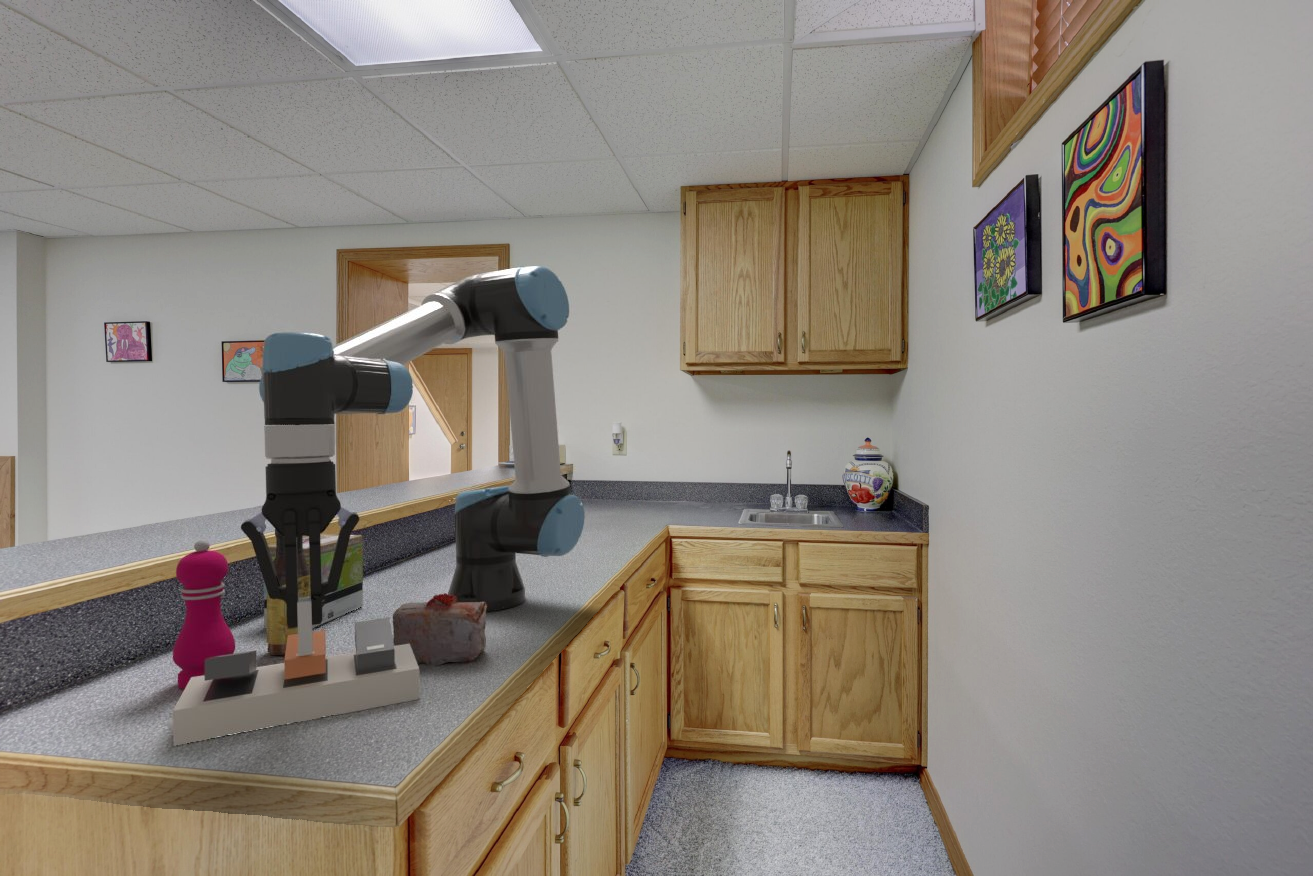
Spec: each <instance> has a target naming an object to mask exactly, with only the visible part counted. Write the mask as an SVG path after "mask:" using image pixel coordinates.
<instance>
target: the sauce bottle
mask: <svg viewBox="0 0 1313 876" xmlns="http://www.w3.org/2000/svg"><path fill="white" fill-rule="evenodd" d="M274 535H275V539H276V542H275V543H276V558H275V559H274V561H273V563H274V566H275V569H276V573H277V576H278V579H279V582H280V585H281V587H286V571H285V537H284V536H282V535H281V534H280V533H279V532H278V531H277V530H276V529H275V528H274ZM303 538H304V536H299V537H297V555H298V598H299V597H307V596H311V590H310V570H309V568H308V565H307V562H306V559H305V557H304V554H303ZM293 634H298V627H295V628H289V627H288V625H287V605H286V602H285V601H283V600H280V599H271V598H270V597H269V595H268V592H267V627H266V643H267V652H268V654H270V655H272V656H285V652H286V645H287V638H288V635H293Z"/></svg>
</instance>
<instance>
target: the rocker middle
mask: <svg viewBox="0 0 1313 876" xmlns="http://www.w3.org/2000/svg"><path fill="white" fill-rule="evenodd" d="M326 644H327V643H326V630H325V629H323V630H318V631H313V654H310V655H303V656H299V654H298V634H293V635H288V638H287V645H286V652H285V655H284V660H283V661H284V662H283V663H284V666H285V679H291V678H297V677H303V676H309V675H315V674H321V673H326V656H327V655H326V654H327V652H326Z"/></svg>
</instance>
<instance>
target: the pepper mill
mask: <svg viewBox="0 0 1313 876" xmlns="http://www.w3.org/2000/svg"><path fill="white" fill-rule="evenodd" d="M210 546H211V545H210V542H209V541H208V540H206V539H199V540H197V541H196V542H195V543H194V546H193V548H194V550H195V551H194V552H190V553H188V554H185V556H183V557H182V558H181V559H179V561H178V563H177V565H176V570H175V575H176V576H175V577H176V578H177V580H178V582H180V583H181V584H182V586H183V587H182V588H181V589H180V592H181V596H180V598H181V599H182V600H184V604H185V617H184V622H183V625H182V627H181V630H180V632H179V634H178V636H177V639H176V641H175V644H174V646H173V650H172V661H173V663H174V664H175V666H177V667H179V669H180V670H179V672H178V673H177V687H178V688H179V689H180V690H183V691H184V690H185V688H186V686H187V684H188V682H189V681H190V679H191V677H197V676H203V675H205V659H207V658H211V657H215V656H221V655H227V654H234V653H235V650H236V641H235V637H234V634H233V633H232V631H231V629H230V627H229V626H228V624H227V623H226V621H225V619H224V617H223V614H222V605H221V601H222V595H223V594H225V592H226V591H225V588H224V587H225V583H224V582H222V581H223V579H224V578H226V576H227V574H228V572H229V563H228V560H227V558H226V557H225V556H224V554H222V553H221V552H219V551H215V550H209V549H210Z"/></svg>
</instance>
